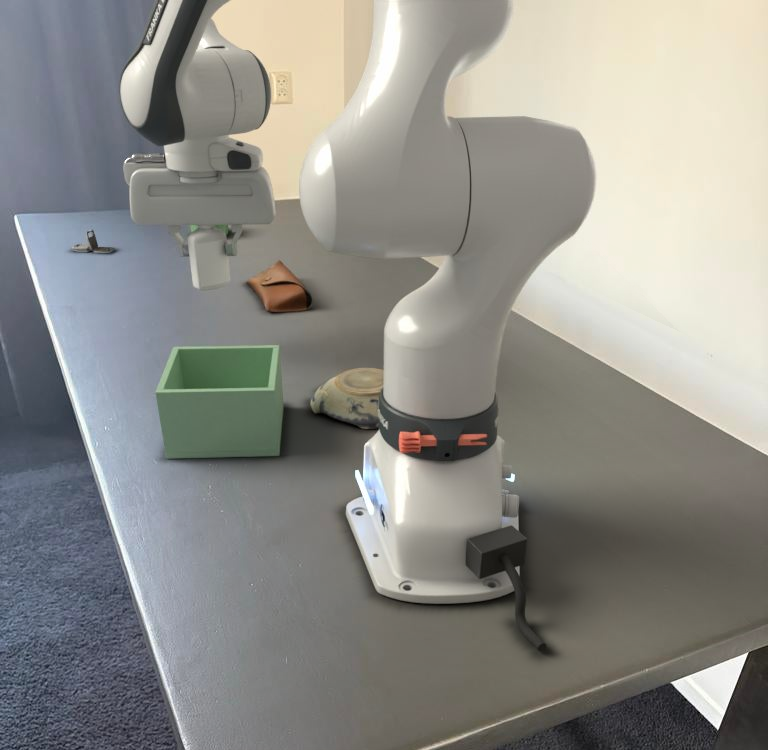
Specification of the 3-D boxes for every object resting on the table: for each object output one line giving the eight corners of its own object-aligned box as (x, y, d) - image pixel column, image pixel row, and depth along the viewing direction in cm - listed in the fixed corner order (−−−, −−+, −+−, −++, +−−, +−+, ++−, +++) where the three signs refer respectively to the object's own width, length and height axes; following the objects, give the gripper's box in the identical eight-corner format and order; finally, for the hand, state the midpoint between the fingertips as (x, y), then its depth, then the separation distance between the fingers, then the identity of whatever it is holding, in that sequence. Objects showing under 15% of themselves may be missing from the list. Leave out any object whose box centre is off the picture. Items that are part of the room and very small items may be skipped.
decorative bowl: (301, 387, 113) (323, 435, 101) (300, 363, 111) (322, 408, 99) (402, 377, 117) (435, 422, 104) (403, 354, 115) (436, 396, 102)
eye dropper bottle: (232, 289, 118) (223, 204, 111) (193, 291, 117) (182, 206, 110) (230, 280, 121) (222, 198, 115) (193, 282, 120) (182, 199, 114)
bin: (279, 456, 97) (274, 390, 92) (166, 458, 96) (155, 392, 91) (283, 406, 108) (279, 345, 103) (182, 408, 107) (173, 346, 102)
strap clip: (71, 251, 167) (66, 231, 164) (77, 247, 169) (73, 227, 167) (109, 254, 166) (105, 233, 163) (115, 249, 168) (111, 229, 166)
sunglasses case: (242, 280, 150) (257, 248, 148) (274, 295, 154) (289, 264, 152) (266, 312, 136) (283, 277, 134) (301, 327, 140) (318, 293, 138)
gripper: (115, 157, 106) (133, 262, 113) (270, 156, 107) (277, 260, 114) (125, 149, 111) (141, 250, 118) (272, 149, 112) (279, 248, 120)
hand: (209, 255), depth 116 cm, fingers closed on eye dropper bottle, 5 cm apart
